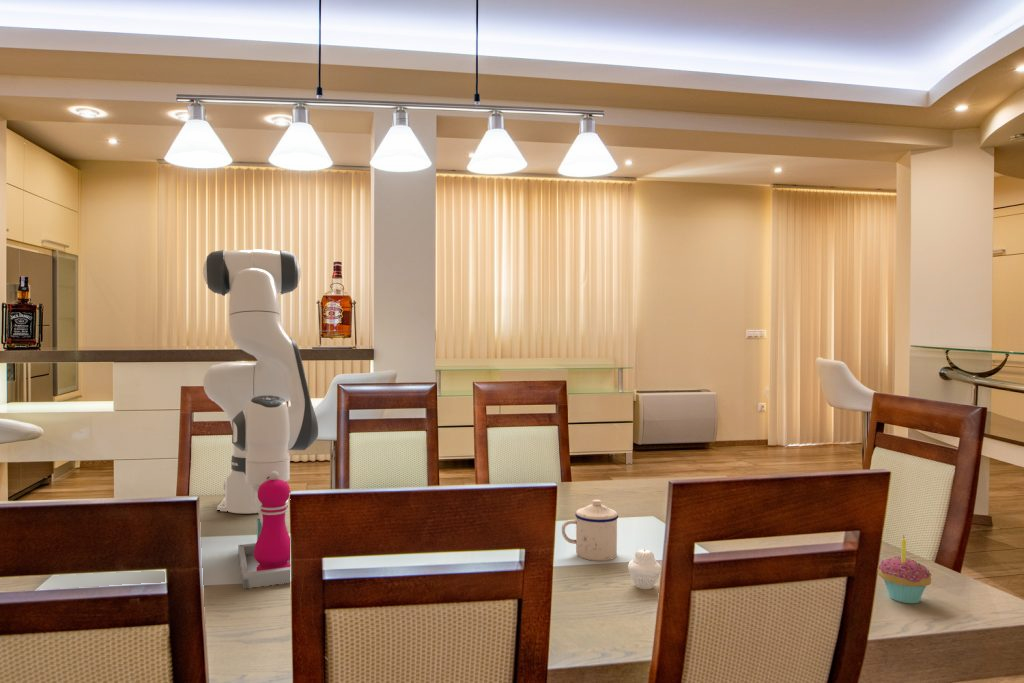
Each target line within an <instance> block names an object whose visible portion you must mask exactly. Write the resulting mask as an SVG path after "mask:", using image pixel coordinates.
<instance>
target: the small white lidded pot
mask: <svg viewBox="0 0 1024 683" xmlns="http://www.w3.org/2000/svg"><path fill="white" fill-rule="evenodd" d="M627 570H628V571H629V576H630V578H631V580H632V581H633V584H634V586H635V587H636V588H637V589H641V590H650V589H652V588H654V586H655V584H656V583H657V580H658V579H659V577H660V573H661V571H662V567H661V564H659V562H658V561H657V560H656V558H655V554H654V552H652V551H651V550H649V549H644V548H643V549H639V550H637V551H636V552H635V553H634V557H633V558H632V560H630V561H629V563H628V565H627Z"/></svg>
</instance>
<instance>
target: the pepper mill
mask: <svg viewBox="0 0 1024 683" xmlns="http://www.w3.org/2000/svg"><path fill="white" fill-rule="evenodd" d="M269 477H270V480H267V481H265V482H263V483H262V484H261V485H260V487H259V489H258V494H257V495H258V499H259V501H260V502H261V503H262V505H261V506H260V508H261V511H260V513H261V514H262V515H263V524H262V529H261V533H260V536H259V538H258V540H257V539H256V542H255V543H256V545H255V548H254V554H253V558H254V560H255V561H256V563H258V565H257V566H256V568H255V569H256V570H255V571H262V570H270V569H278V568H286V567H291V563H290V562H289V560H290V559H291V558H290V538H291V537H290V534H289V532H288V529H287V526H286V513H287V512H288V509H289V508H288V506H289V505H287V503H286V501H287V500H288V499H290V497H289V493H290V494H291V487H290V485H289V483H288V482H285V481H283V480H280V479H278V478H279V474H278V472H276V471H273V472H271V473H270V475H269Z"/></svg>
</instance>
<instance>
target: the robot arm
mask: <svg viewBox="0 0 1024 683" xmlns="http://www.w3.org/2000/svg"><path fill="white" fill-rule="evenodd" d="M202 274H203V280H204V283H205V284H206V285H207V288H208V290H210V291H211V292H212V293H215V294H217V295H221V296H223V297H225V296H226V295H227V294H229V301H228V302H229V303H228V304H229V305H228V323H229V332H230V337H231V340H232V342H233V343H234V344H235V345H236V346H237V348H239V349H241V350H242V351H243V352H245V353H246V354H249V355H251V356H253V357H254V358H255V359H256V361H229V362H221V363H217V364H213V365H211V366H210V367H209V368H208V369H207V371H206V372H205V374H204V376H203V381H202V384H203V390H204V393H205V394H206V396H207V398H208V399H209V400H211V401H212V402H214V403H215V404H216V405H218V406H219V407H220V408H221V409H222V411H223V412H224V413H225V415H226V416H227V418H228V419H229V423H230V427H231V430H232V431H231V433H232V434H231V435H232V436H231V443H232V445H233V446H232V447H233V448H232V453H233V454H232V456H231V460H230V464H231V472H230V474H229V475H227V477H226V478H225V481H223V491H224V493H223V499H222V500H221V502H220V503H219V504H217V507H216V511H217V510H220V511H219V512H227V511H228V512H227V513H232V514H244V515H245V514H258V517H259V519H260V521H261V525H262V524H263V515H262V514H261V513H260V511H261V508H260V506H261V505H262V503H261V502H260V501H259V499H258V495H257V494H258V489H259V487H260V485H261V484H262V483H263V482H265V481H267V480H270V477H269V475H270V473H271V472H273V471H276V472H278V474H279V478H278V479H280V480H283V481H285V482H286V483H288V481H290V480H291V479H290V478H291V477H290V476H291V475H290V474H291V473H290V470H291V469H290V467H291V466H290V463H291V462H290V460H291V459H290V458H291V456H290V453H289V451H305V450H307V449H308V448H310V447H311V446H312V445H313V444H314V442H316V440H317V439H318V437H319V424H318V423H319V422H318V419H317V416H316V413H315V412H316V411H315V410H314V406H313V403H312V400H311V395H310V390H309V387H308V381H307V376H306V373H305V369H304V365H303V360H302V357H301V353H300V350H299V347H298V344H297V342H296V340H295V339H294V338H292V337H290V336H289V335H288V334H287V333H286V331H285V329H284V327H283V324H282V320H281V319H282V318H281V306H280V299H279V294H278V293H280V295H284V294H288V293H291V292H294V291H295V290H296V289H297V288H298V284H300V281H301V277H302V270H301V265H300V263H299V260H298V257H297V256H296V254H294V253H293V252H291V251H287V250H279V251H278V250H272V249H271V250H270V249H263V248H262V249H261V248H252V249H235V250H234V249H233V250H224V249H221V250H214V251H211V252H210V253H209V254H208V255H207V256H206V259H205V261H204V265H203V268H202ZM287 402H290V405H289V406H288V403H287ZM286 503H287V505H288V500H287V501H286ZM288 506H289V505H288Z"/></svg>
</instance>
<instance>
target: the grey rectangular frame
mask: <svg viewBox="0 0 1024 683" xmlns="http://www.w3.org/2000/svg"><path fill="white" fill-rule="evenodd" d="M261 529H262V525H261V521H260V518H256V541H257V540H258V538H259V536H260V533H261ZM255 545H256V542H254V543H246V544H245V543H244V544H238V550H237V551H238V553H237V554H238V560H239V566H240V576H241V580H242V581H241V582H243V583H242V588H243V590H247V589H246V588H249V589H253V588H252V587H257V588H260V587H259V586H264V587H270V586H269V585H272V586H275V585H274V584H279V585H286V583H287V584H291V583H290V567H291V566H290V567H286V568H278V569H270V570H262V571H256V570H255V571H249V569H248V564H247V558H246V556H247V555H248V556H249V555H254V548H255ZM284 583H285V584H284Z"/></svg>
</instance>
